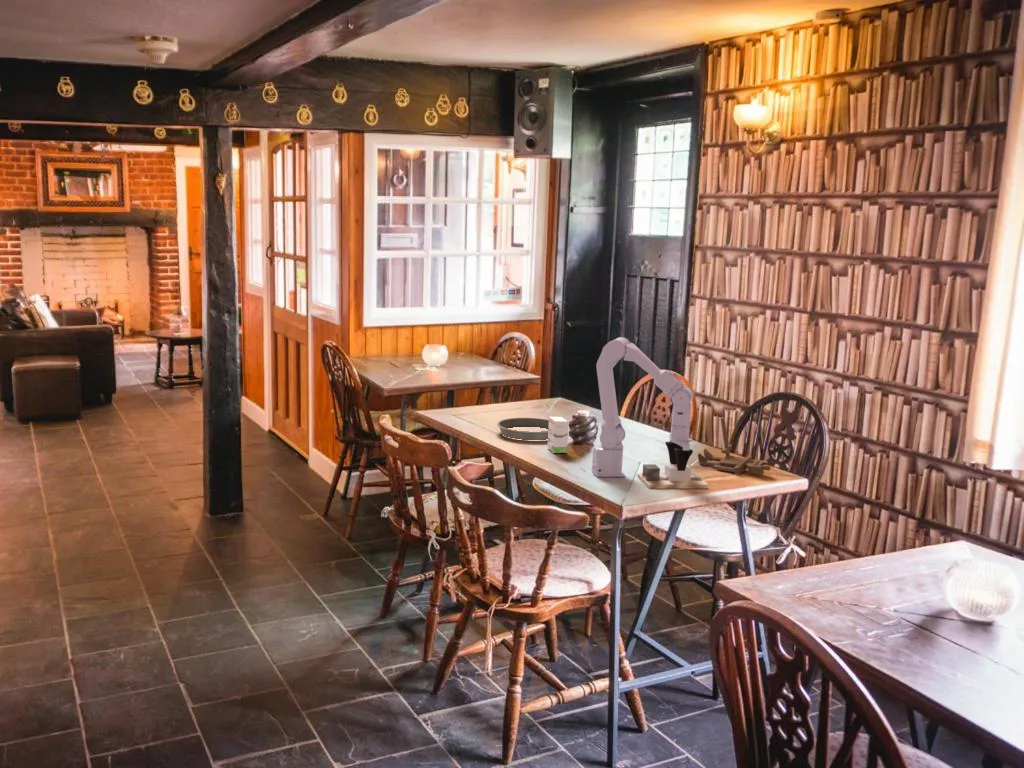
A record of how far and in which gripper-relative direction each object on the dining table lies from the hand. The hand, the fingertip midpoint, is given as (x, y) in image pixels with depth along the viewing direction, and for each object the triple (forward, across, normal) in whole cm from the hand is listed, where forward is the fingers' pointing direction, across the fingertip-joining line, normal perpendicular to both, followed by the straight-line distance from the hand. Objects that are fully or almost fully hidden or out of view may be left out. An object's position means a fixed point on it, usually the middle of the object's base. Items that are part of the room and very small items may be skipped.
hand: (677, 467), depth 299 cm
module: (+4, 0, 0) cm, 4 cm away
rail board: (+5, 0, +1) cm, 5 cm away
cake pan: (+6, +65, +37) cm, 75 cm away
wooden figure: (+5, +14, -24) cm, 29 cm away
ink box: (+5, +40, +31) cm, 51 cm away
